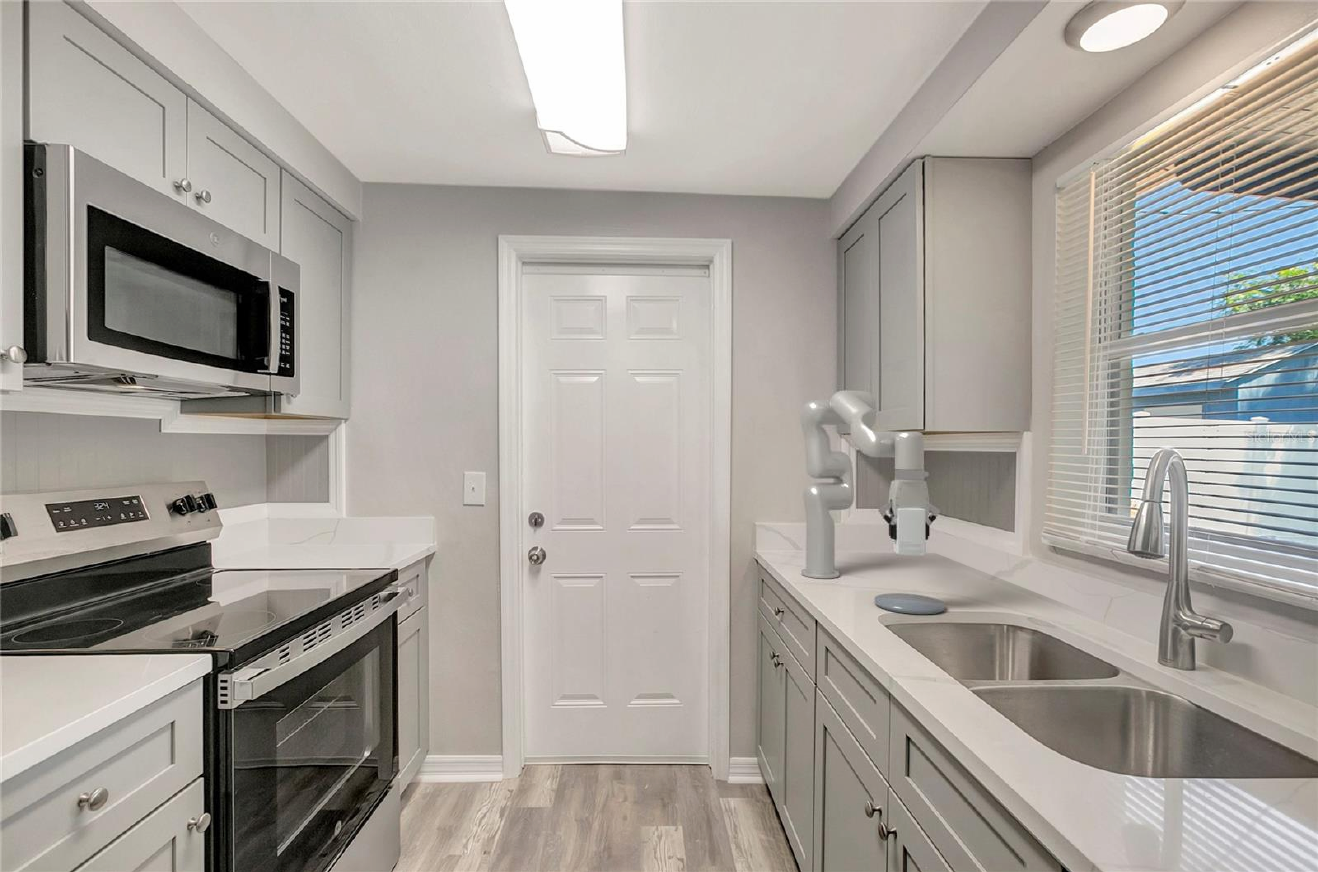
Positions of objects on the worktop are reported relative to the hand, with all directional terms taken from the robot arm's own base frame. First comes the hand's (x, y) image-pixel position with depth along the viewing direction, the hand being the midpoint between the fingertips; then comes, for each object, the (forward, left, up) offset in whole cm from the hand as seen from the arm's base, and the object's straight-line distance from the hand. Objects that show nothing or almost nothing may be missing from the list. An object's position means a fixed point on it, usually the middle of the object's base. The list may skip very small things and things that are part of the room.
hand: (909, 538), depth 174 cm
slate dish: (0, 0, -19) cm, 19 cm away
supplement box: (0, 0, -4) cm, 4 cm away
